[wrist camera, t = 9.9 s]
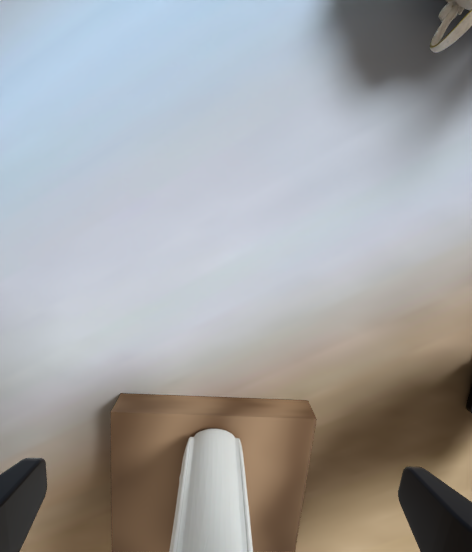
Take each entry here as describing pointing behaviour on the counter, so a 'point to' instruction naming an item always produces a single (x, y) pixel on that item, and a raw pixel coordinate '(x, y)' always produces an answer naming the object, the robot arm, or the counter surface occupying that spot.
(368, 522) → the counter surface
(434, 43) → the chinaware
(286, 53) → the counter surface
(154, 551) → the walnut stand
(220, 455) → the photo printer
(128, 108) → the counter surface
